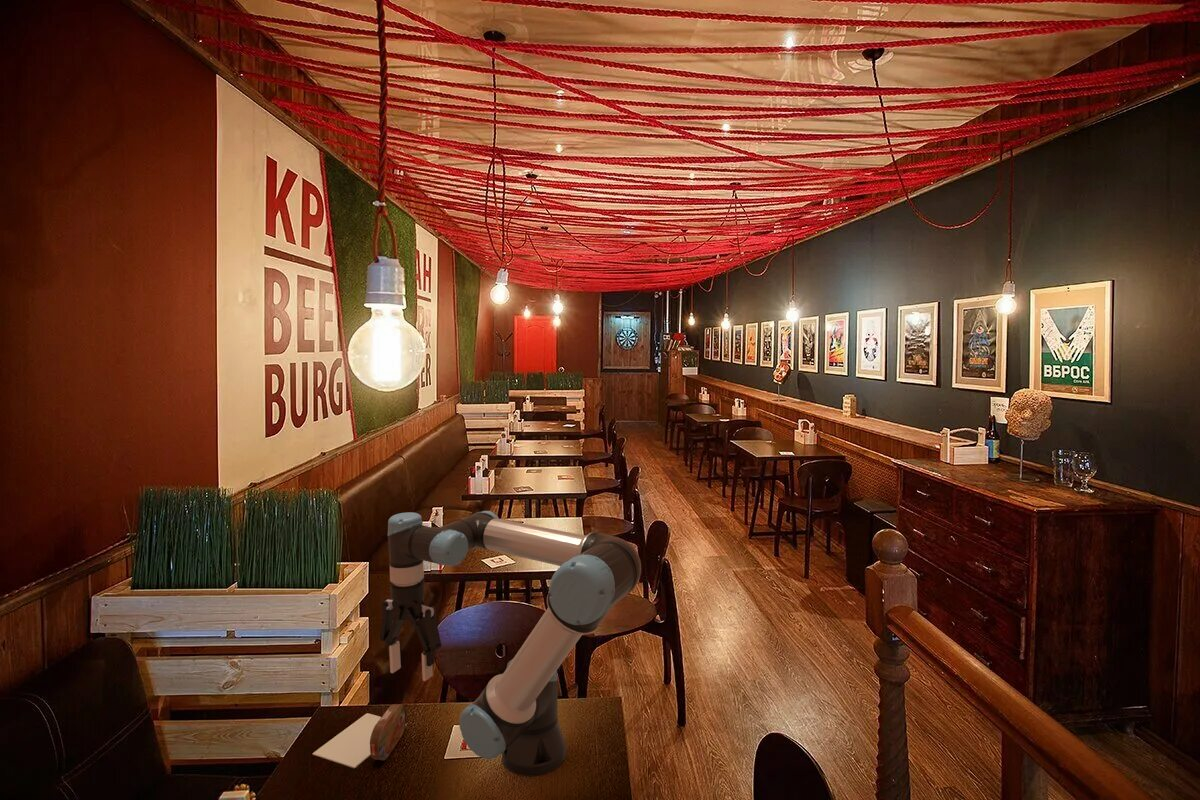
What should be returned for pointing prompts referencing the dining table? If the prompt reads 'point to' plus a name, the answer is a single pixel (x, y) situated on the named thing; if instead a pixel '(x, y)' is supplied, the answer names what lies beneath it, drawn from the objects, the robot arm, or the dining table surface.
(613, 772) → the dining table surface
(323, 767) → the dining table surface
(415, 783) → the dining table surface
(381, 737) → the tin
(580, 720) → the dining table surface
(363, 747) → the placemat
